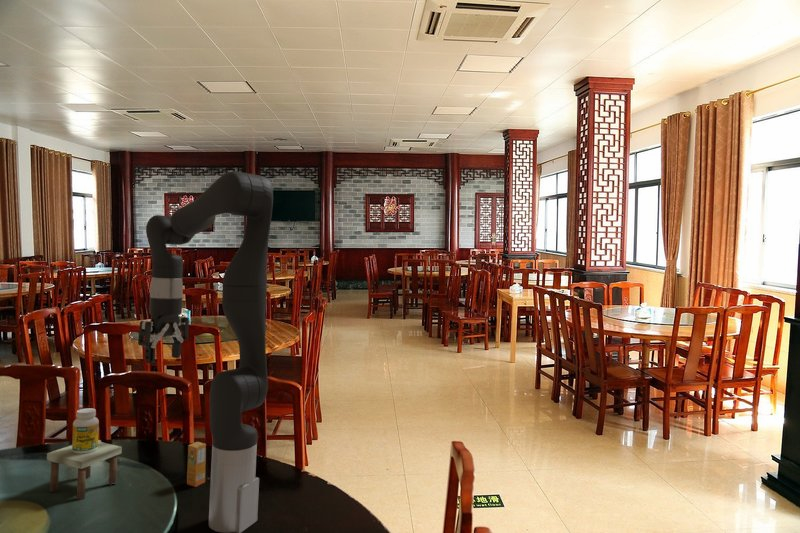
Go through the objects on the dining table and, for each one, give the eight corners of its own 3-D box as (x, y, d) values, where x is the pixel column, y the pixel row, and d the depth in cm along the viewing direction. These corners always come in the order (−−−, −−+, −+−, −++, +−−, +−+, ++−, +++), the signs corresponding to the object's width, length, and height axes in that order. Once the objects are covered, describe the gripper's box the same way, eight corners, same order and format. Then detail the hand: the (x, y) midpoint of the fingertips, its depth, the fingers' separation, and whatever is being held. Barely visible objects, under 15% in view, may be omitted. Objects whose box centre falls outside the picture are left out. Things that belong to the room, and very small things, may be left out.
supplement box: (185, 484, 134) (187, 444, 134) (196, 479, 137) (198, 440, 137) (194, 487, 133) (196, 447, 132) (205, 483, 136) (207, 443, 135)
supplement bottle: (96, 445, 133) (98, 406, 133) (98, 452, 129) (100, 412, 128) (71, 448, 130) (72, 408, 130) (72, 455, 126) (74, 414, 125)
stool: (120, 483, 133) (121, 446, 133) (79, 501, 123) (81, 461, 122) (87, 474, 137) (88, 439, 137) (45, 491, 126) (47, 453, 126)
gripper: (156, 298, 128) (153, 366, 128) (198, 295, 141) (195, 357, 141) (131, 296, 130) (128, 363, 131) (175, 293, 144) (172, 354, 144)
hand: (163, 360), depth 136 cm, fingers open, 8 cm apart
